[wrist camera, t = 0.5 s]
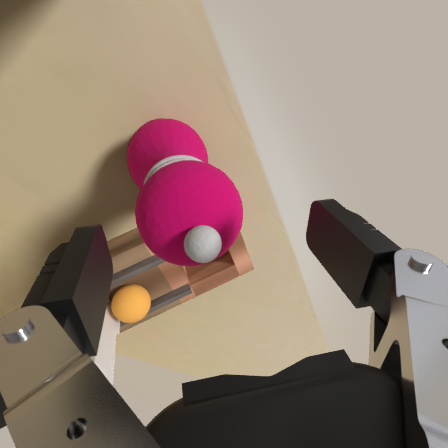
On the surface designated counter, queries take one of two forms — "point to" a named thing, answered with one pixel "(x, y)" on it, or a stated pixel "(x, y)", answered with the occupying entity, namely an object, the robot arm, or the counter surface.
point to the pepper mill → (181, 195)
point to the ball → (131, 303)
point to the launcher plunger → (107, 344)
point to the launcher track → (170, 273)
